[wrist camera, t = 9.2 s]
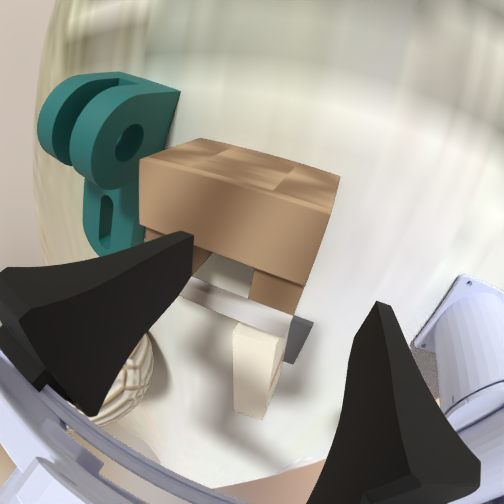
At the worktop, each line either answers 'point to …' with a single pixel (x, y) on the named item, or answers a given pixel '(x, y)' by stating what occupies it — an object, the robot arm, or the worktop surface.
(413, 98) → the worktop surface
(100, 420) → the vase
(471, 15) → the worktop surface
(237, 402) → the cream flat block piece
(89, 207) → the bracket
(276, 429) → the worktop surface
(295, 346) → the mat
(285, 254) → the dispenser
